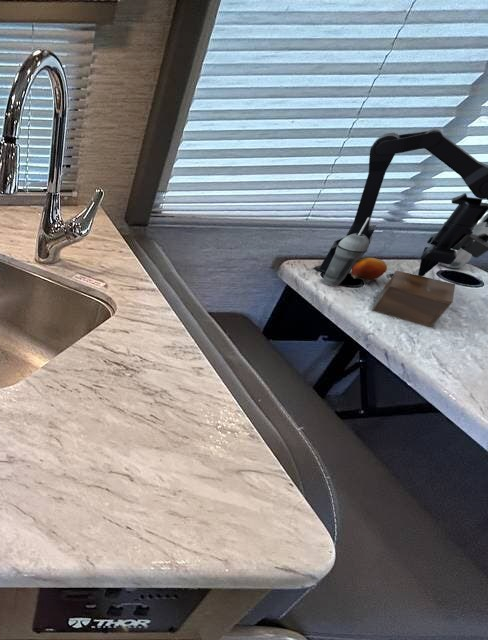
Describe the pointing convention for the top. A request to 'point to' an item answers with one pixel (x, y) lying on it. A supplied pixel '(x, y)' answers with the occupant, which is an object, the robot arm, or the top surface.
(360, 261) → the fruit
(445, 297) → the cabinet
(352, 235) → the beverage cup
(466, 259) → the plastic bottle
